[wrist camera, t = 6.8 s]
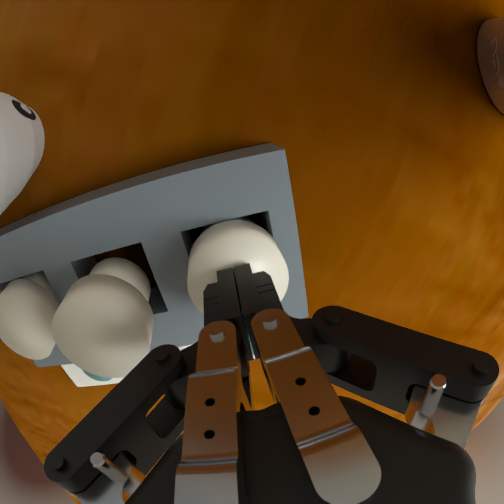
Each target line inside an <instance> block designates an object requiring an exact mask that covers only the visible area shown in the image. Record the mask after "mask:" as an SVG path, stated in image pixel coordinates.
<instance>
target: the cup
mask: <svg viewBox="0 0 504 504" xmlns="http://www.w3.org/2000/svg"><path fill="white" fill-rule="evenodd" d="M44 143H45V137H44V129H43V125H42V122H41V120H40V118H39V116H38V115H37V113H36V112H35V111H34V110H33V109H32V108H30V107H29V106H27V105H26V104H24V103H23V102H21V101H19V100H18V99H16V98H15V97H13V96H11V95H9V94H6V93H2V92H0V215H1V214H2V212H3V211H4V210H5V209H6V208H7V207H8V206H9V205H10V203H11V202H12V201H13V200H14V199H15V198H16V197H17V196H18V195H19V194H20V193H21V191H22V190H23V188H24V187H25V185H26V184H27V182H28V181H29V179H30V177H31V176H32V174H33V173H34V171H35V170H36V169H37V167H38V165H39V163H40V161H41V158H42V155H43V151H44Z"/></svg>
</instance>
